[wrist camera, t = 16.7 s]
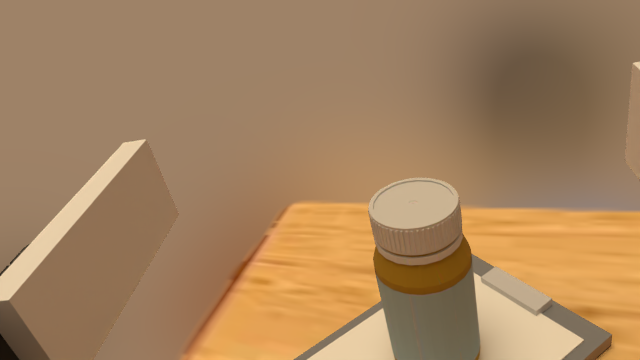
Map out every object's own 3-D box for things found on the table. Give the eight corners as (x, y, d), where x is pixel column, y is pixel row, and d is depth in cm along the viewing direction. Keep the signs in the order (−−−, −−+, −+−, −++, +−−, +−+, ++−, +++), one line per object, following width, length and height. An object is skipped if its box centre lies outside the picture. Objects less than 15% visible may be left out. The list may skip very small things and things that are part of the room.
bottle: (483, 323, 45) (469, 173, 37) (478, 394, 39) (460, 234, 32) (402, 317, 47) (374, 175, 40) (386, 382, 42) (350, 232, 35)
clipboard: (461, 256, 55) (460, 241, 54) (611, 345, 42) (612, 327, 41) (280, 379, 46) (274, 364, 45) (399, 535, 34) (394, 518, 33)
